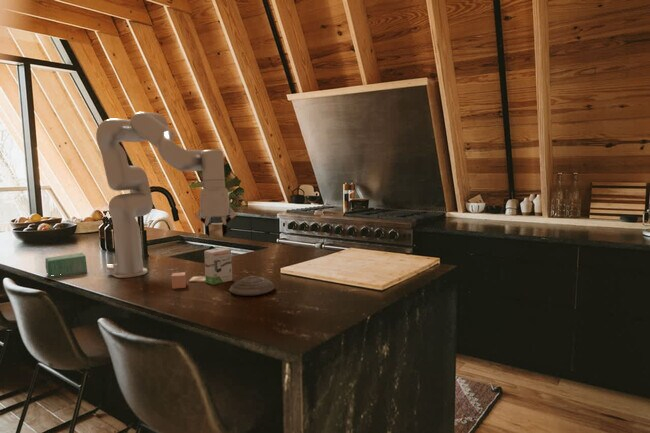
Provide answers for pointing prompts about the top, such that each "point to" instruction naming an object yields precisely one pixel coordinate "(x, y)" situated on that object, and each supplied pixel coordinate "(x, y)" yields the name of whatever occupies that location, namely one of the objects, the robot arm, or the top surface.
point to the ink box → (218, 265)
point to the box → (66, 265)
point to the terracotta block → (178, 280)
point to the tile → (198, 279)
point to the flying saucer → (252, 286)
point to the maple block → (215, 230)
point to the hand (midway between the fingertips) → (217, 235)
